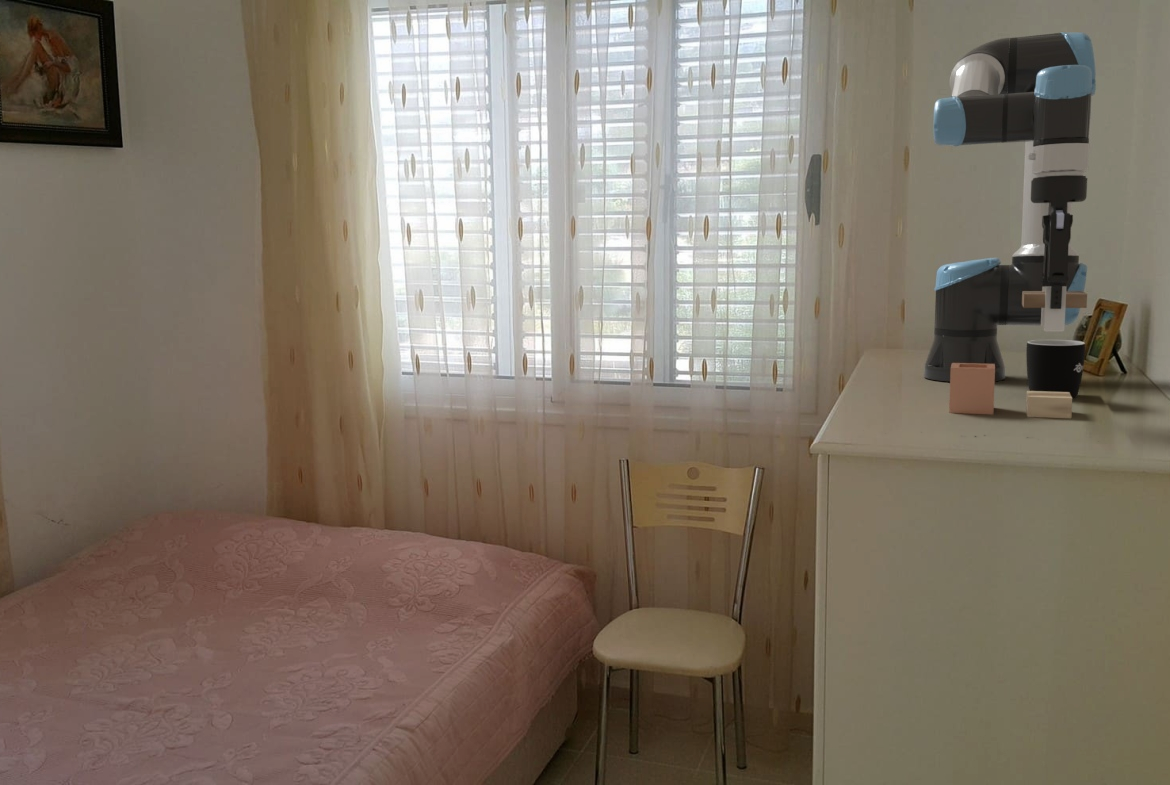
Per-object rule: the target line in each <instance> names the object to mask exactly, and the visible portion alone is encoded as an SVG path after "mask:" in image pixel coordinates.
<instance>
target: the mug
mask: <svg viewBox="0 0 1170 785" xmlns="http://www.w3.org/2000/svg"><path fill="white" fill-rule="evenodd" d="M1025 355H1026V374H1027V375H1026V376H1027V384H1028V391H1047V392H1070V395H1071V397H1072V400H1074V399H1077V397H1078V395H1079V392H1080V388H1081V385H1082V384H1081V383H1082V378H1083V373H1084V367H1085V357H1086V356H1085V355H1086V342H1084V341H1081V340H1069V339H1068V340H1067V339H1034V340H1028V341H1027V342H1026V354H1025Z"/></svg>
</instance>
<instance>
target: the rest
mask: <svg viewBox="0 0 1170 785" xmlns="http://www.w3.org/2000/svg"><path fill="white" fill-rule="evenodd" d="M1025 402H1026V403H1025V404H1026V408H1025V411H1026V416H1027V417H1028V418H1030V417H1031V418H1055V419H1072V415H1073V414H1072V412H1073V399H1072V397H1071V395H1070V392H1047V391H1029V390H1026V401H1025Z"/></svg>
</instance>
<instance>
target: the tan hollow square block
mask: <svg viewBox="0 0 1170 785" xmlns="http://www.w3.org/2000/svg"><path fill="white" fill-rule="evenodd" d="M995 383H996V381H995V364H979V363H952V365H951V371H950V382H949V405H948V406H949V408H948V409H949V410H948V413H950V414H971V415H994V409H995V408H994V407H995V406H994V405H995Z"/></svg>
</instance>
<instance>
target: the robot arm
mask: <svg viewBox="0 0 1170 785" xmlns="http://www.w3.org/2000/svg"><path fill="white" fill-rule="evenodd" d="M1096 82H1097V81H1096V62H1095V53H1094V47H1093V43H1092V39H1091V37H1090V36H1089V35H1088V34H1087V33H1085V32H1081V31H1080V32H1078V31H1077V32H1063V31H1061V32H1057V33H1047V34H1036V35H1029V36H1028V35H1027V36H1026V35H1025V36H1018V37H1017V36H1015V37H1004V38H1003V37H1002V38H998V39H993V40H990V41H988V42H985V43H982V44H980V45H979V46H977V47H975V48H973V49H971V50H970V51H967V53H965V54H964V55H962V56H961V57H960V58H959V59H958V61H957V62H956V63H955V64H954V66H953V68H952V70H951V73H950V77H949V89H950V92H951V97H943V98H939V99H937V100H936V101H935V103H934V107H933V141H934V143H935V144H936V145H937V146H954V147H960V146H967V145H968V146H969V145H983V144H984V145H985V144H1002V143H1003V144H1005V143H1006V144H1007V143H1022V142H1025V146H1024V148H1025V149H1024V165H1023V166H1024V167H1023V168H1024V169H1023V170H1024V172H1023V175H1024V176H1023V192H1022V193H1023V195H1022V196H1023V197H1022V215H1021V216H1022V218H1021V221H1022V224H1021V243H1020V247H1019V248H1018V249H1017V250H1016V251H1014V253H1013V254H1012V256H1011V264H1001V260H1000V258H999V257H989V258H988V257H987V258H982V259H973V260H972V259H971V260H966V261H965V260H964V261H960V262H953V263H947V264H943V265H941V266H940V267H939V268H938V269H937V271H936V275H935V276H936V279H935V287H934V289H933V290H934V292H935V305H934V306H935V307H934V326H933V329H934V331H933V332H934V333H933V334H934V335H933V341H932V344H931V347H930V349H929V352H928V354H927V356H926V357H927V358H926V360H925V363H924V366H923V377H924V378H926V379H928V380H933V381H941V382H949V383H950V371H951V365H952V363H979V364H995V382H998V381H999V382H1000V381H1003V380H1005V378H1006V366H1005V362H1004V359H1003V356H1002V352H1001V350H1000V345H999V342H998V326H1041V327H1043V331H1044V332H1063V333H1064V332H1065V328H1066V327H1065V326H1069V325H1072V324H1073V323H1075V322H1076V321H1077V319H1078V317H1079V314H1080V311H1081V308H1065V307H1066V291H1083V292H1085V290H1086V289H1085V288H1086V282H1087V274H1088V273H1087V272H1088V266H1087V264H1084V263H1083V262H1081V263H1079V260H1080V254H1079V253H1078V252H1077V251H1076V250H1075V249H1074V248H1073V247H1072V246H1073V245H1072V244H1071V240H1072V226H1073V222H1074V215H1073V203H1082V202H1084V201H1085V200H1086V199H1087V197H1088V196H1087V195H1088V194H1087V192H1088V177H1087V176H1086V175H1084V174H1085V173H1087V172H1088V170H1089V162H1090V160H1089V159H1090V124H1091V109H1092V97H1093V96H1094V95H1095V94H1096V89H1097V88H1096V86H1097V85H1096ZM1022 291H1046V293H1045V308H1023V305H1022Z"/></svg>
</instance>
